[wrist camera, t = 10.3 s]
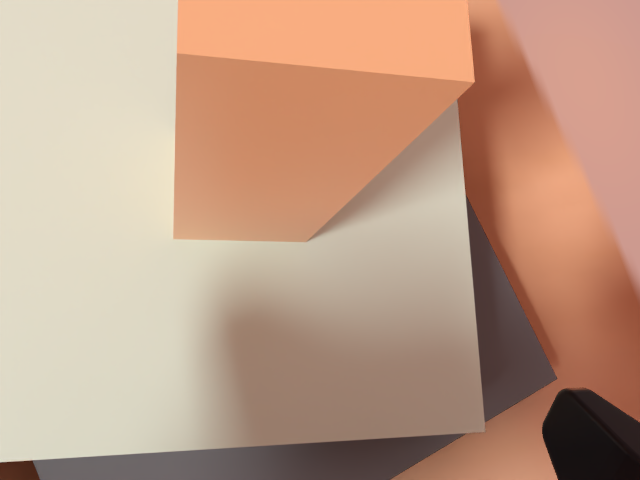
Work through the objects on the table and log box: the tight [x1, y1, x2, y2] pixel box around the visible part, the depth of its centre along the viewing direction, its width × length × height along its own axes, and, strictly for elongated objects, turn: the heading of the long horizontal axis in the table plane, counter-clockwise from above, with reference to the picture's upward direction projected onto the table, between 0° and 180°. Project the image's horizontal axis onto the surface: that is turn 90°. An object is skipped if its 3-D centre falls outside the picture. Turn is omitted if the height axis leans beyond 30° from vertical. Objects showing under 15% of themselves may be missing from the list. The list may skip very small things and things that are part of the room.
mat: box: [32, 194, 557, 480], centre depth 16 cm, size 16×13×1 cm
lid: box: [0, 0, 485, 462], centre depth 11 cm, size 11×11×10 cm
